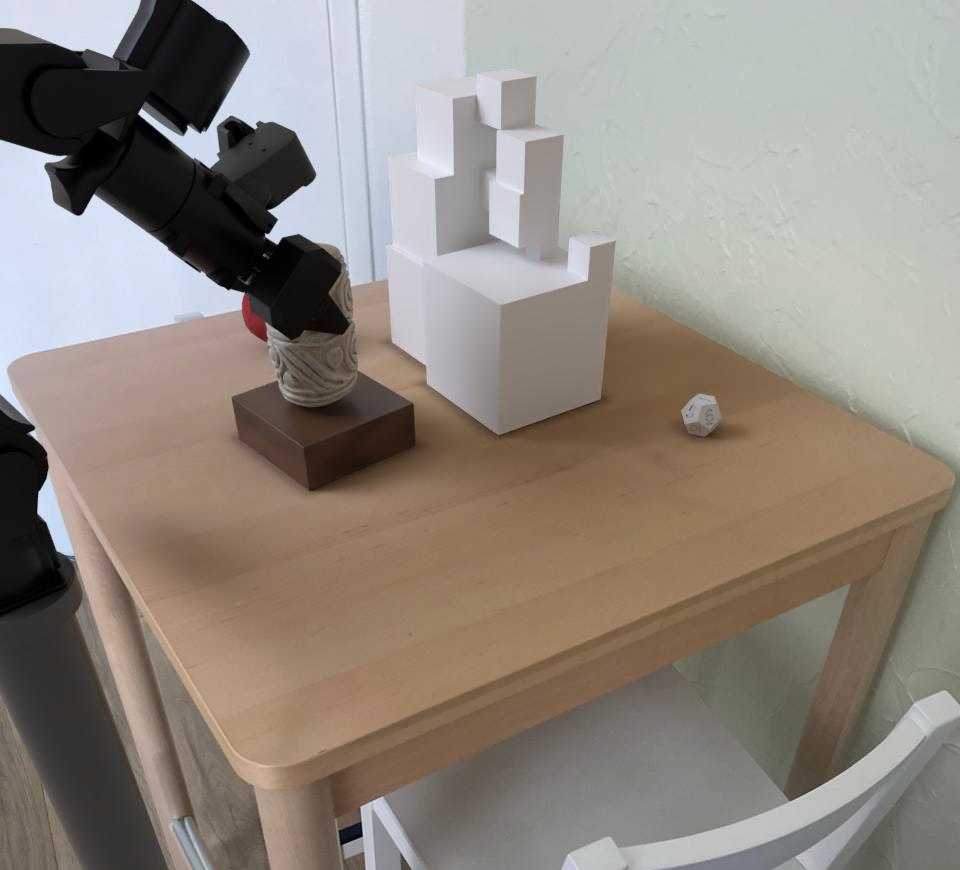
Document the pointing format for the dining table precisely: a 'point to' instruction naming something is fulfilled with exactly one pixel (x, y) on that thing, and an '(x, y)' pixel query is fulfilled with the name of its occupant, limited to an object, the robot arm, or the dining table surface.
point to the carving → (318, 353)
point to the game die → (701, 415)
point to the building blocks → (494, 257)
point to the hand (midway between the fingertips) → (326, 315)
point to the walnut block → (325, 430)
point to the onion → (253, 320)
